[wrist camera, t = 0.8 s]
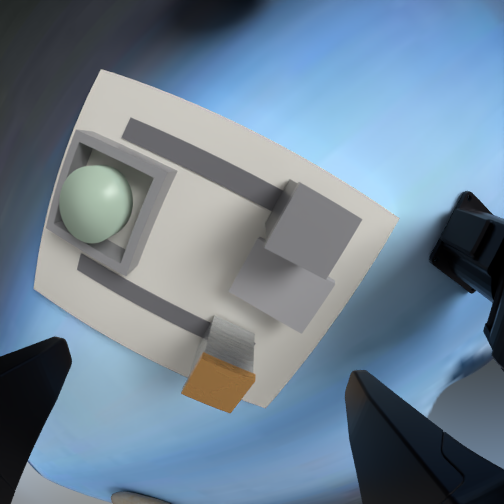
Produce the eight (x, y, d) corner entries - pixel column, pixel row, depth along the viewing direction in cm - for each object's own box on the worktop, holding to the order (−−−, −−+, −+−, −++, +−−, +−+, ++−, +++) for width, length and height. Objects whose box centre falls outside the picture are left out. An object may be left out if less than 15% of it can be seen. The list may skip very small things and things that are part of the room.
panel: (390, 214, 19) (413, 225, 16) (265, 396, 24) (265, 425, 21) (111, 74, 16) (86, 62, 13) (43, 282, 21) (20, 298, 18)
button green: (144, 182, 16) (133, 185, 14) (118, 248, 17) (107, 256, 16) (86, 154, 15) (72, 154, 14) (66, 218, 17) (52, 223, 15)
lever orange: (256, 332, 20) (255, 381, 15) (235, 364, 21) (230, 413, 16) (214, 313, 20) (201, 358, 15) (195, 346, 20) (180, 393, 16)
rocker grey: (334, 280, 17) (335, 284, 16) (302, 328, 18) (301, 333, 17) (260, 236, 17) (257, 238, 17) (232, 287, 18) (228, 291, 18)
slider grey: (335, 203, 17) (362, 219, 12) (309, 248, 18) (325, 279, 13) (288, 176, 17) (300, 182, 12) (262, 224, 18) (263, 248, 13)
